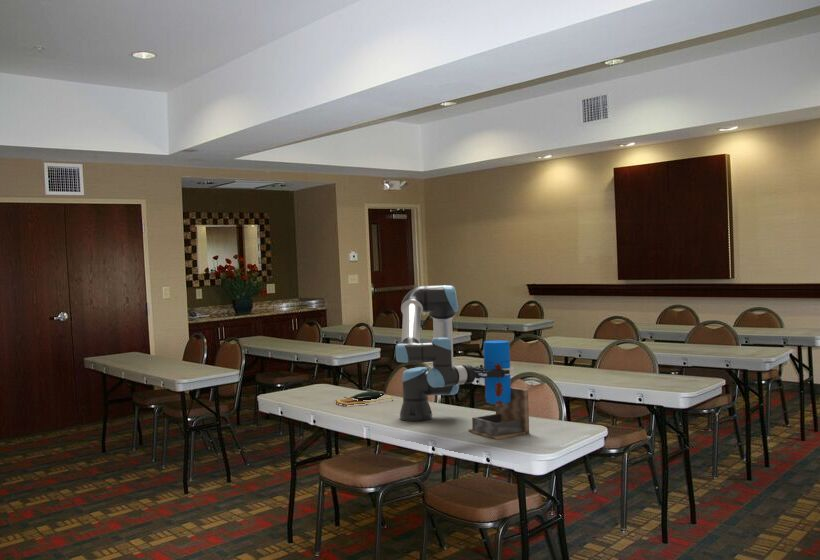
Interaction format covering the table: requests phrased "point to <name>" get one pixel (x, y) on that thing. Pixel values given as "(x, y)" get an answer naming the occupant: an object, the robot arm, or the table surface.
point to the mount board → (505, 418)
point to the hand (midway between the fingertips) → (504, 369)
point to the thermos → (497, 360)
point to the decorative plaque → (362, 397)
